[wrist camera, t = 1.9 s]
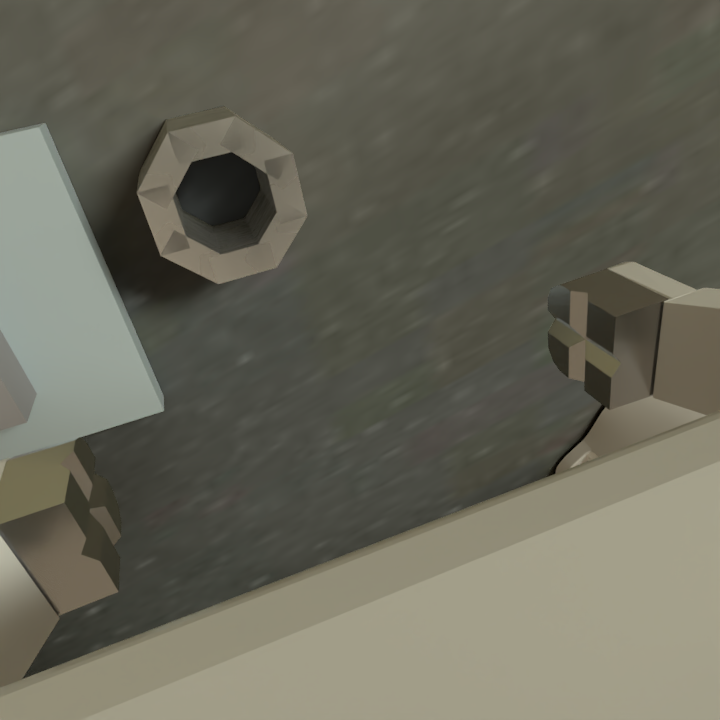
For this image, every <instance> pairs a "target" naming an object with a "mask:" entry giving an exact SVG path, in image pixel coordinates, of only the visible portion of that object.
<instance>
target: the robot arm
mask: <svg viewBox="0 0 720 720" xmlns="http://www.w3.org/2000/svg"><path fill="white" fill-rule="evenodd" d="M548 311H549V312H550V313H551V314H552V316H553V317H554V318H555V320H554V322H553V324H552V326H551V327H550V329H549V331H548V348H549V351H550V354H551V356H552V359H553V362H554V363H555V365H556V366H557V367H558V369H559V370H560V371H561V372H562V373H563V374H564V375H566V376H567V377H568V378H571V379H575V380H579V381H584V391H586V392H587V393H588V394H589V395H591V396H592V397H593V398H595V399H596V400H597V401H598V402H600V403H601V404H602V405H604V406H605V409H604V410H603V411H602V413H601V414H600V416H599V417H598V419H597V420H596V422H595V424H594V425H593V427H592V428H591V430H590V431H589V433H588V434H587V436H586V437H585V438H584V440H583V441H581V442H580V443H579V444H578V445H577V446H576V447H575V448H574V449H573V450H572V451H570V452H569V453H568V454H567V455H566V456H565V457H564V458H563V460H562V461H561V462H560V463H559V465H558V466H557V468H556V472H555V474H554V475H551V476H548V477H546V478H543V479H541V480H538V481H536V482H533V483H530V484H528V485H525V486H523V487H520V488H517V489H515V490H512V491H510V492H507V493H504V494H502V495H499V496H497V497H494V498H491V499H489V500H486V501H484V502H481V503H478V504H476V505H473V506H471V507H468V508H465V509H463V510H460V511H458V512H455V513H452V514H450V515H447V516H445V517H442V518H439V519H437V520H434V521H432V522H429V523H426V524H424V525H421V526H419V527H416V528H414V529H411V530H408V531H406V532H403V533H401V534H398V535H395V536H393V537H390V538H388V539H385V540H382V541H380V542H377V543H375V544H372V545H369V546H367V547H364V548H362V549H359V550H356V551H354V552H351V553H349V554H346V555H343V556H341V557H338V558H336V559H333V560H330V561H328V562H325V563H323V564H320V565H317V566H315V567H312V568H310V569H307V570H305V571H302V572H299V573H297V574H294V575H292V576H289V577H286V578H284V579H281V580H279V581H276V582H273V583H271V584H268V585H266V586H263V587H260V588H258V589H255V590H253V591H250V592H247V593H245V594H242V595H240V596H237V597H234V598H232V599H229V600H227V601H224V602H221V603H219V604H216V605H214V606H211V607H208V608H206V609H203V610H201V611H198V612H195V613H193V614H190V615H188V616H185V617H183V618H180V619H177V620H175V621H172V622H170V623H167V624H164V625H162V626H159V627H157V628H154V629H151V630H149V631H146V632H144V633H141V634H138V635H136V636H133V637H131V638H128V639H125V640H123V641H120V642H118V643H115V644H112V645H110V646H107V647H105V648H102V649H99V650H97V651H94V652H92V653H89V654H86V655H84V656H81V657H79V658H76V659H74V660H71V661H68V662H66V663H63V664H61V665H58V666H55V667H53V668H50V669H48V670H45V671H42V672H40V673H37V674H35V675H32V676H29V677H27V678H24V679H22V678H23V677H24V675H25V673H26V672H27V670H28V669H29V667H30V665H31V664H32V662H33V661H34V659H35V657H36V656H37V654H38V652H39V651H40V649H41V648H42V646H43V644H44V643H45V641H46V640H47V638H48V636H49V635H50V633H51V632H52V630H53V628H54V627H55V625H56V624H57V622H58V620H59V619H60V618H59V617H58V616H59V615H61V614H64V613H66V612H69V611H71V610H74V609H76V608H79V607H81V606H84V605H86V604H89V603H91V602H94V601H96V600H99V599H102V598H104V597H107V596H109V595H112V594H114V593H117V592H119V573H120V556H119V554H118V552H117V551H116V549H115V547H114V545H115V544H116V542H117V541H118V540H119V538H120V537H121V517H120V511H119V506H118V503H117V500H116V497H115V495H114V492H113V490H112V488H111V486H110V484H109V482H108V480H107V479H105V478H103V477H101V476H99V475H97V474H94V468H95V456H94V454H93V453H92V451H91V449H90V448H89V446H88V444H87V443H86V441H84V440H83V439H82V438H80V437H78V438H75V439H71V440H68V441H65V442H61V443H58V444H54V445H51V446H48V447H44V448H41V449H38V450H34V451H31V452H28V453H24V454H21V455H18V456H14V457H12V458H6V459H3V460H0V720H720V289H713V288H703V289H700V290H696V289H694V288H691V287H689V286H687V285H684V284H682V283H680V282H678V281H675V280H673V279H671V278H669V277H666V276H664V275H662V274H660V273H657V272H655V271H653V270H651V269H648V268H646V267H644V266H642V265H639V264H637V263H635V262H623V263H620V264H617V265H615V266H612V267H609V268H606V269H604V270H601V271H598V272H595V273H592V274H589V275H586V276H584V277H581V278H578V279H575V280H572V281H569V282H566V283H563V284H560V285H558V286H555V287H553V288H551V290H550V293H549V296H548Z"/></svg>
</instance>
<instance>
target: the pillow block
mask: <svg viewBox="0 0 720 720" xmlns="http://www.w3.org/2000/svg"><path fill="white" fill-rule="evenodd" d="M162 411H164V396H163V394H162V391H161V389H160V387H159V384H158V382H157V380H156V377H155V375H154V373H153V371H152V368H151V366H150V364H149V361H148V359H147V357H146V354H145V352H144V350H143V347H142V345H141V343H140V341H139V338H138V336H137V334H136V331H135V329H134V327H133V324H132V322H131V320H130V317H129V315H128V313H127V310H126V308H125V306H124V304H123V301H122V299H121V297H120V294H119V292H118V290H117V287H116V285H115V283H114V280H113V278H112V276H111V274H110V271H109V269H108V267H107V264H106V262H105V260H104V257H103V255H102V253H101V250H100V248H99V246H98V244H97V241H96V239H95V237H94V234H93V232H92V230H91V227H90V225H89V223H88V220H87V218H86V216H85V214H84V211H83V209H82V207H81V204H80V202H79V200H78V197H77V195H76V193H75V190H74V188H73V186H72V184H71V181H70V179H69V177H68V174H67V172H66V170H65V167H64V165H63V163H62V160H61V158H60V156H59V154H58V151H57V149H56V147H55V144H54V142H53V140H52V137H51V135H50V133H49V130H48V128H47V126H46V124H45V123H42V124H38V125H33V126H29V127H24V128H20V129H16V130H11V131H7V132H2V133H0V460H3V459H6V458H12V457H14V456H18V455H21V454H24V453H28V452H31V451H34V450H38V449H41V448H44V447H48V446H51V445H54V444H58V443H61V442H65V441H68V440H71V439H75V438H78V437H83V436H86V435H89V434H92V433H96V432H99V431H102V430H105V429H108V428H112V427H115V426H118V425H121V424H124V423H127V422H131V421H134V420H137V419H140V418H143V417H146V416H150V415H153V414H156V413H159V412H162Z"/></svg>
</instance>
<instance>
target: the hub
mask: <svg viewBox="0 0 720 720" xmlns="http://www.w3.org/2000/svg"><path fill="white" fill-rule="evenodd" d="M230 152H233V153H234V154H236V155H238V156H239V157H241V158H242V159H244V160H246V161H247V162H249V163H251V164H252V165H254V166H255V170H256V174H257V177H258V181H259V185H260V189H261V190H260V192H259V193H258V195H257V197H256V199H255V200H254V202H253V204H252V206H251V207H250V209H249V211H248V213H247V214H246V216H245V218H242V219H238V220H235V221H231V222H227V223H223V224H220V225H216V226H211V225H209V224H207V223H205V222H204V221H202V220H200V219H198V218H196V217H194V216H193V215H191V214H189V213H187V212H185V211H183V210H182V208H181V205H180V203H179V200H178V197H177V194H176V191H177V189H178V187H179V185H180V183H181V181H182V179H183V177H184V175H185V173H186V172H187V170H188V168H189V166H190V164H191V162H193V161H197V160H201V159H205V158H209V157H213V156H217V155H221V154H226V153H230ZM137 195H138V197H139V200H140V203H141V205H142V208H143V211H144V213H145V216H146V218H147V221H148V224H149V226H150V229H151V232H152V234H153V237H154V240H155V242H156V245H157V248H158V250H159V253H160V256H162V257H164V258H166V259H168V260H170V261H172V262H174V263H176V264H178V265H180V266H182V267H184V268H186V269H188V270H191V271H193V272H195V273H197V274H199V275H201V276H203V277H205V278H207V279H209V280H211V281H213V282H215V283H217V284H221V283H224V282H228V281H231V280H235V279H238V278H242V277H245V276H249V275H252V274H256V273H259V272H263V271H266V270H270V269H273V268H277V266H278V264H279V263H280V261H281V259H282V258H283V256H284V254H285V253H286V251H287V249H288V248H289V246H290V244H291V243H292V241H293V239H294V238H295V236H296V234H297V233H298V231H299V229H300V228H301V226H302V224H303V223H304V221H305V219H306V218H307V212H306V208H305V204H304V199H303V195H302V191H301V186H300V182H299V178H298V173H297V169H296V165H295V160H294V156H293V153H292V152H291V151H289V150H288V149H287V148H285V147H284V146H283V145H282V144H280V143H279V142H278V141H277V140H275V139H274V138H272V137H271V136H269V135H268V134H266V133H265V132H263V131H262V130H260V129H259V128H257V127H255V126H254V125H252V124H251V123H249V122H248V121H246V120H245V119H243V118H242V117H240V116H239V115H237V114H236V113H234V112H233V111H231V110H230V109H228V108H226V107H225V106H221V107H217V108H213V109H208V110H204V111H200V112H195V113H191V114H187V115H183V116H178V117H174V118H170V119H166V121H165V123H164V125H163V127H162V129H161V131H160V133H159V135H158V137H157V138H156V140H155V142H154V144H153V146H152V148H151V150H150V152H149V154H148V156H147V158H146V160H145V162H144V164H143V166H142V168H141V170H140V173H139V180H138V187H137Z"/></svg>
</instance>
